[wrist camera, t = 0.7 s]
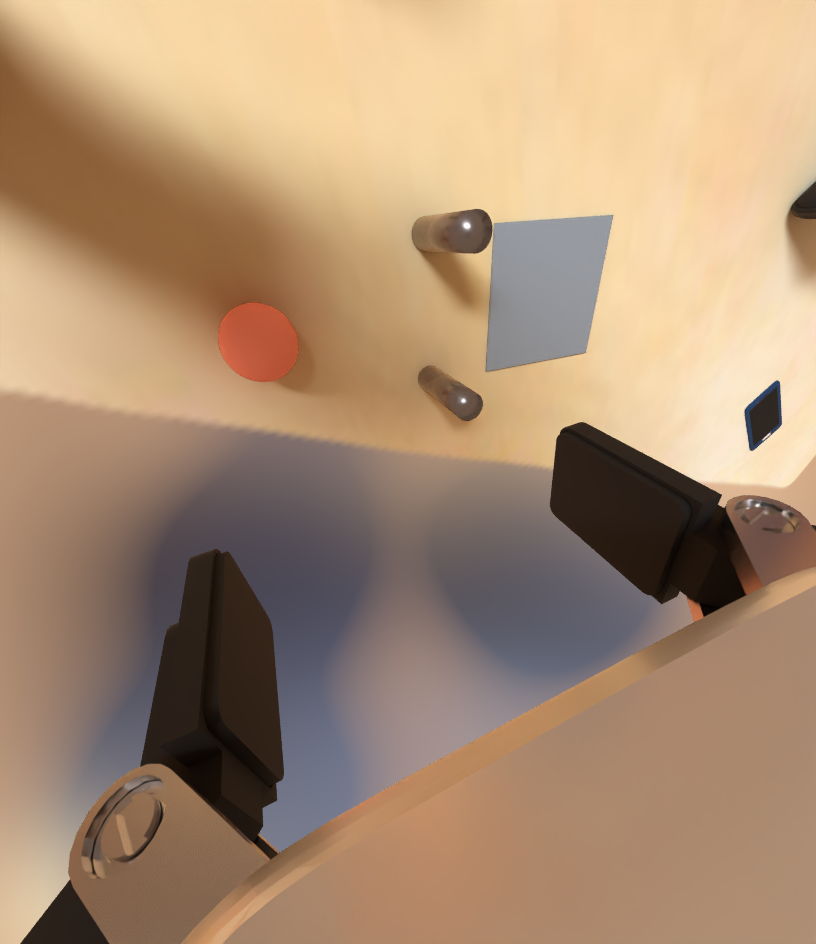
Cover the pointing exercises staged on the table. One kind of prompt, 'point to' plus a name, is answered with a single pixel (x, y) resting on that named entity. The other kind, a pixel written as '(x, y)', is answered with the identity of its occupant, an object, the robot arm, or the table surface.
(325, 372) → the table surface
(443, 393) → the post
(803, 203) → the carrying case or bag
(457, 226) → the post
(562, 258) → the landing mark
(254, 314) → the ball
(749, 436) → the cell phone
